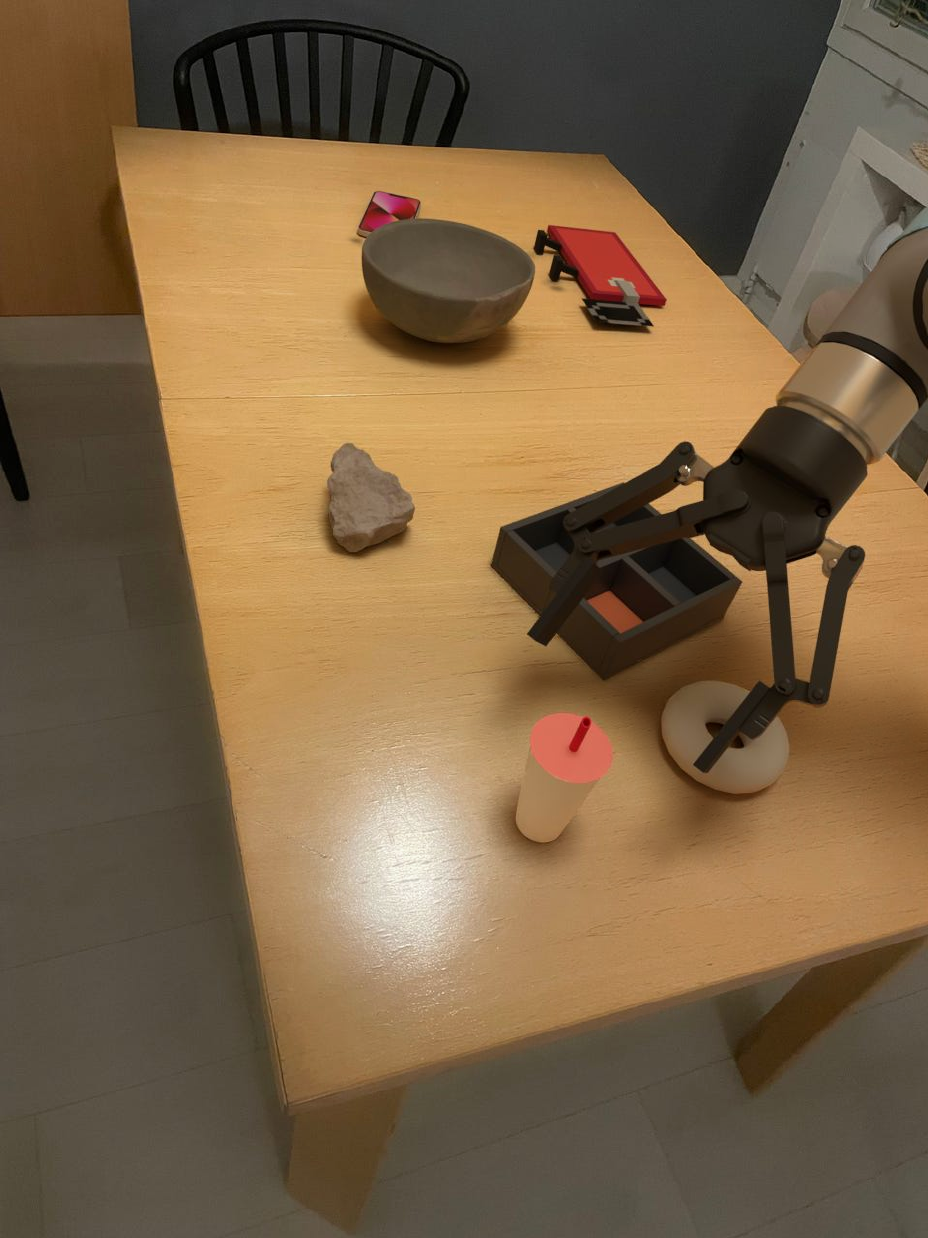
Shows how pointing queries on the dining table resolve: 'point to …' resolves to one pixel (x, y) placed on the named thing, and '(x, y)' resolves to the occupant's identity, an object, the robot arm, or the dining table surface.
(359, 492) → the stone
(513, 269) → the bowl
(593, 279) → the red board with handle
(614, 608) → the grid
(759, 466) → the robot arm
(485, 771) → the dining table surface
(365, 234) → the smartphone
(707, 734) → the donut
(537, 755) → the cup
